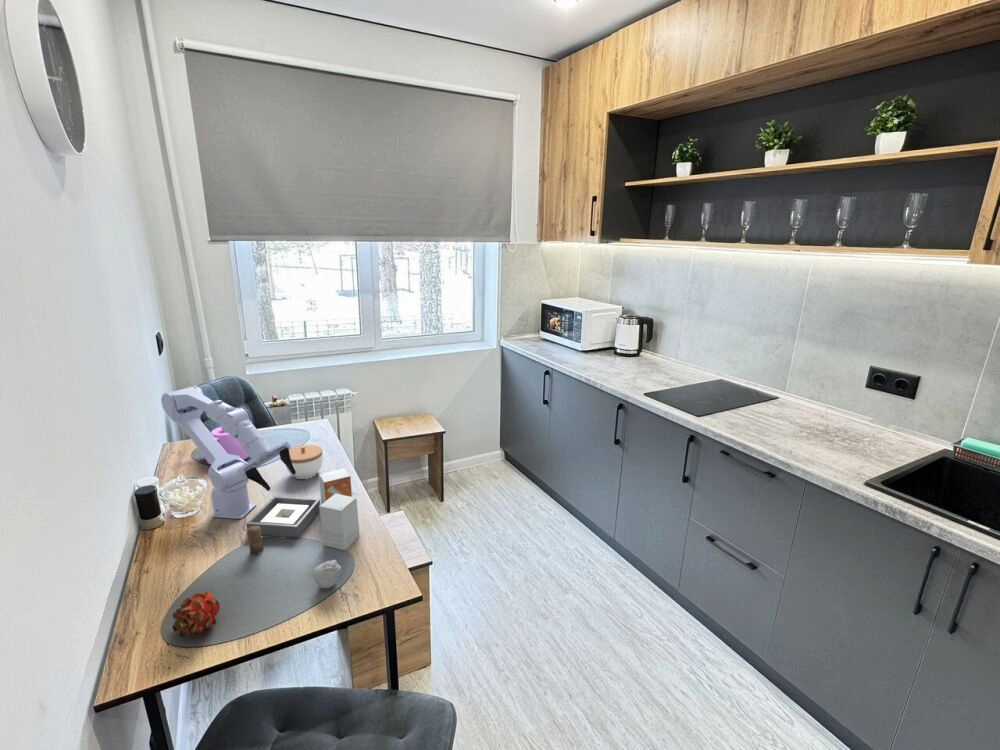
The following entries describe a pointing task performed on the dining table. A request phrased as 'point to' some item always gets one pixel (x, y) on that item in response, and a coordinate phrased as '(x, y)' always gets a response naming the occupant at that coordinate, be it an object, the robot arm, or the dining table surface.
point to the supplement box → (339, 521)
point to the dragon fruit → (196, 614)
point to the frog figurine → (327, 574)
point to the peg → (255, 539)
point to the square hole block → (286, 516)
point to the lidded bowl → (306, 460)
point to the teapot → (228, 443)
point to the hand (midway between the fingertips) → (282, 481)
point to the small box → (334, 484)
